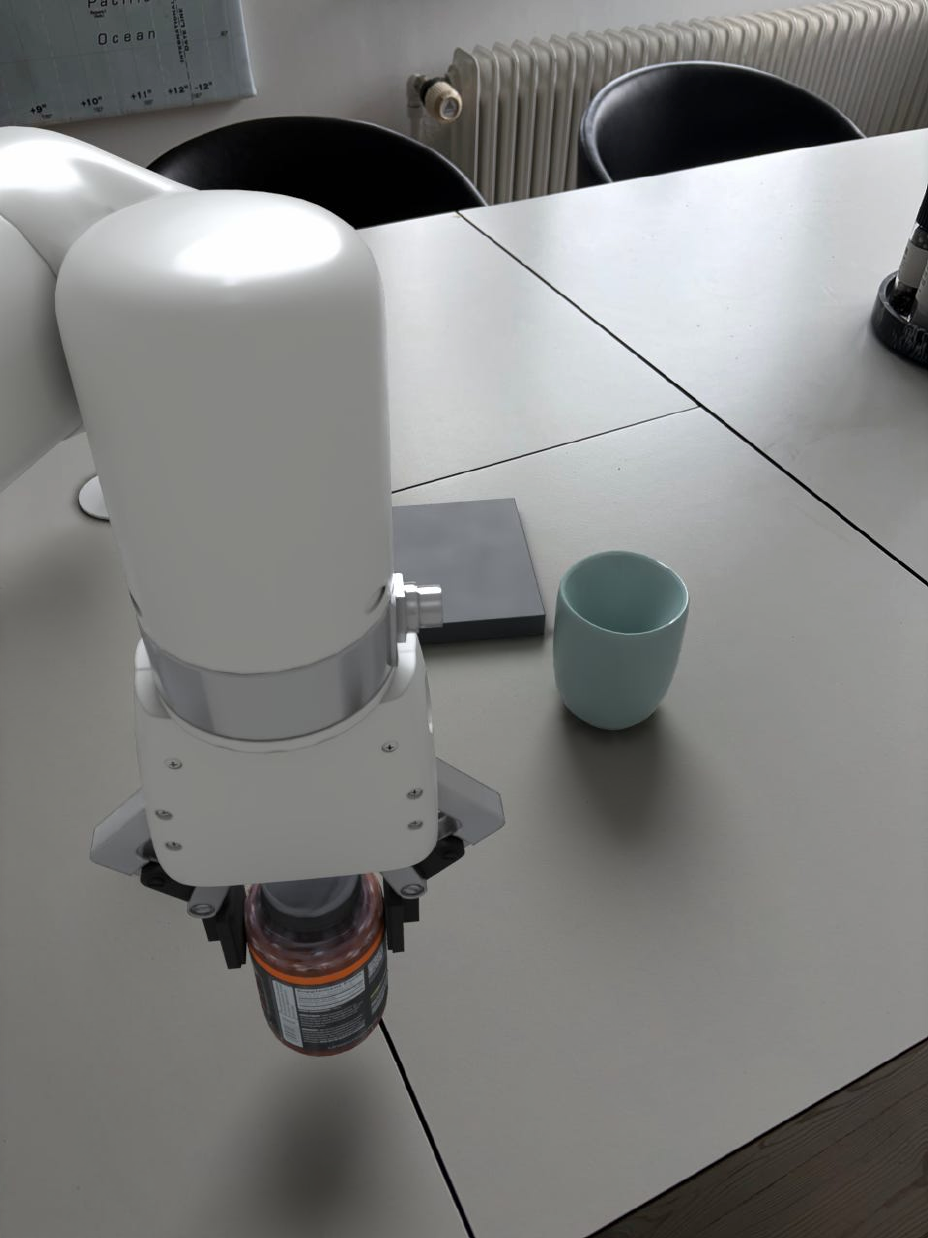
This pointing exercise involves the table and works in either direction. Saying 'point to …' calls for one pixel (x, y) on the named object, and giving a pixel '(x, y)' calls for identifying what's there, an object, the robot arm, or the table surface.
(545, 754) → the table surface
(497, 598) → the scale
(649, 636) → the cup
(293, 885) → the supplement bottle
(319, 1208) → the table surface
